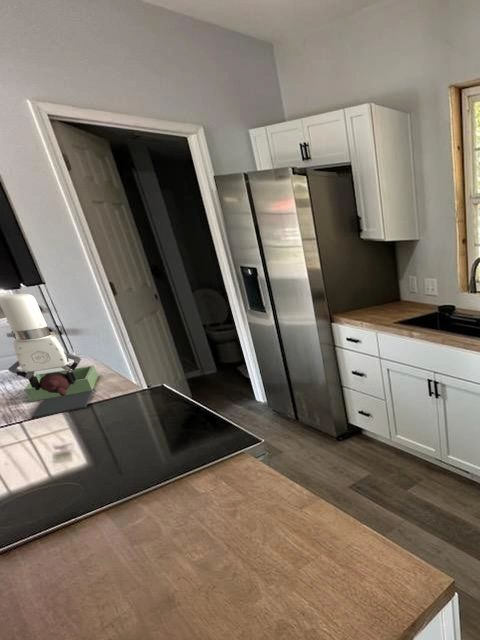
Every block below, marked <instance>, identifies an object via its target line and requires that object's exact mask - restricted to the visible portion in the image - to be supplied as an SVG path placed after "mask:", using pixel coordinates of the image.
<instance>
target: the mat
mask: <svg viewBox="0 0 480 640" xmlns="http://www.w3.org/2000/svg"><path fill="white" fill-rule="evenodd" d="M92 394H93V390H91V391H86V392H80V393H75V394H69V395H65V396H58V397H53V398H47V399H42V400H41V402H40V405H39V406H38V407H37V408H36V410H35V412H34V413H33V414H32V416H31V418H32V419H37V418H42V417H47V416H52V415H57V414H62V413H68V412H71V411H76V410H82V409H86V408H87V406H88V403H89V400H90V399H91V396H92Z"/></svg>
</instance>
